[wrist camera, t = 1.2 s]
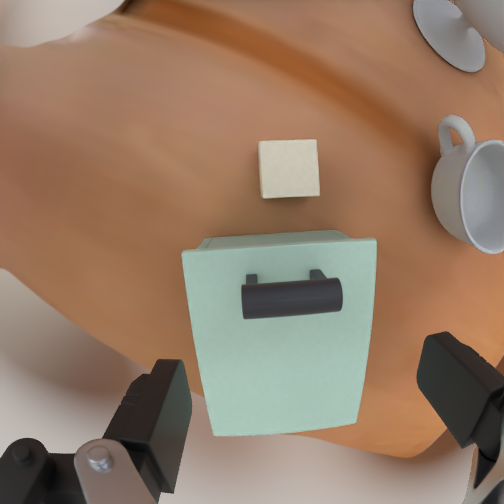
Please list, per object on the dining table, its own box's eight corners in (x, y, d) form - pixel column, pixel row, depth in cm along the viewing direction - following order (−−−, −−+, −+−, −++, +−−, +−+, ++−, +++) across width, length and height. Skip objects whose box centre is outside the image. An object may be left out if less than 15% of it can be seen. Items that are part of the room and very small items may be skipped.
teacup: (492, 214, 27) (536, 224, 19) (435, 256, 28) (479, 277, 21) (454, 107, 24) (498, 94, 17) (388, 137, 26) (431, 125, 18)
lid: (183, 249, 19) (159, 274, 14) (372, 237, 19) (411, 256, 14) (214, 430, 23) (208, 476, 17) (354, 417, 22) (370, 459, 17)
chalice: (394, 31, 23) (465, -33, 8) (414, -25, 20) (466, -79, 5) (481, 100, 24) (567, 81, 9) (491, 35, 21) (555, 7, 7)
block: (257, 148, 26) (259, 141, 22) (306, 146, 26) (316, 139, 22) (260, 196, 27) (262, 198, 23) (309, 194, 27) (320, 195, 23)
